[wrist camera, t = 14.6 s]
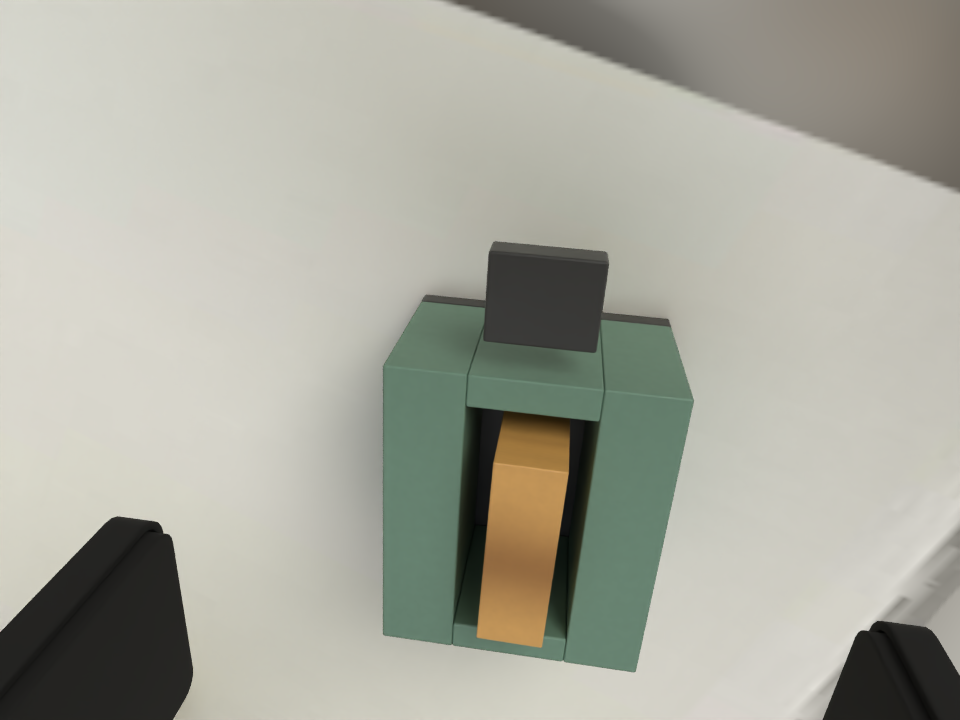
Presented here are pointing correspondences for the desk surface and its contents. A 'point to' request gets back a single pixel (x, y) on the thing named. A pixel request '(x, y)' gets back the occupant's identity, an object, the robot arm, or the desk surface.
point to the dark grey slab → (545, 296)
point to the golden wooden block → (523, 527)
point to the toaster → (469, 464)
